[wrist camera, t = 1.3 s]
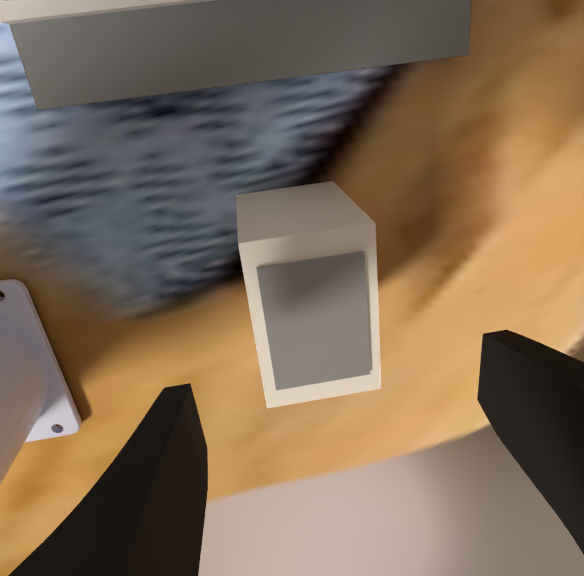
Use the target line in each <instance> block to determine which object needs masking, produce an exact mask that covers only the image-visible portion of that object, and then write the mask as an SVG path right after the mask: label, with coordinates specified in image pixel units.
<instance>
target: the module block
mask: <svg viewBox="0 0 584 576" xmlns="http://www.w3.org/2000/svg"><path fill="white" fill-rule="evenodd" d="M236 212H237V233H238V246H239V252H240V258H241V263H242V269H243V275H244V280H245V286H246V292H247V297H248V303H249V309H250V314H251V320H252V326H253V331H254V337H255V343H256V348H257V354H258V360H259V365H260V371H261V377H262V382H263V388H264V394H265V399H266V405H267V408H273V407H278V406H284V405H290V404H296V403H301V402H307V401H313V400H318V399H324V398H330V397H336V396H341V395H347V394H353V393H358V392H364V391H370V390H376V389H381V368H380V339H379V309H378V279H377V250H376V223H375V222H374V221H373V220H372V219H371V218H370V217H369V216H368V215H367V214H366V213H365V212H364V211H363V210H362V209H361V208H360V207H359V206H358V205H357V204H356V203H355V202H354V201H353V200H352V199H351V198H350V197H349V196H348V195H347V194H346V193H345V192H344V191H343V190H342V189H341V188H340V187H338V186H337V185H336V184H335V183H334V182H333V181H330V182H323V183H316V184H309V185H302V186H295V187H288V188H281V189H274V190H267V191H260V192H253V193H246V194H239V195H236Z"/></svg>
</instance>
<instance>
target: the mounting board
mask: <svg viewBox="0 0 584 576" xmlns="http://www.w3.org/2000/svg"><path fill="white" fill-rule="evenodd" d="M470 10H471V0H0V22H3V23H7V24H9V25H10V28H11V31H12V34H13V37H14V40H15V43H16V46H17V49H18V52H19V55H20V58H21V61H22V64H23V67H24V70H25V73H26V76H27V79H28V82H29V85H30V88H31V91H32V94H33V97H34V100H35V103H36V106H37V109H38V110H42V109H50V108H57V107H65V106H73V105H81V104H89V103H97V102H105V101H112V100H120V99H128V98H136V97H144V96H152V95H160V94H167V93H175V92H183V91H191V90H199V89H207V88H214V87H222V86H230V85H238V84H246V83H254V82H262V81H269V80H277V79H285V78H293V77H301V76H309V75H317V74H324V73H332V72H340V71H348V70H356V69H364V68H372V67H379V66H387V65H395V64H403V63H411V62H419V61H427V60H434V59H442V58H450V57H458V56H466V55H468V50H469V30H470Z"/></svg>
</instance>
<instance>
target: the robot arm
mask: <svg viewBox="0 0 584 576" xmlns="http://www.w3.org/2000/svg"><path fill="white" fill-rule="evenodd" d="M0 291H2V292H3V293H4V294H5V297H0V484H1V483H2V481H3V479H4V477H5V476H6V474H7V472H8V470H9V469H10V467H11V465H12V463H13V461H14V460H15V458H16V456H17V454H18V453H19V451H20V449H21V447H22V446H23V444H24V442H30V441H35V440H41V439H47V438H53V437H58V436H64V435H70V434H74V433H76V432H77V431H79V429H80V426H81V424H82V421H81V418H80V415H79V413H78V411H77V408H76V406H75V403H74V401H73V398H72V396H71V394H70V391H69V389H68V386H67V384H66V381H65V379H64V377H63V374H62V372H61V369H60V367H59V365H58V362H57V360H56V357H55V355H54V352H53V350H52V348H51V345H50V343H49V340H48V338H47V335H46V333H45V331H44V328H43V326H42V323H41V321H40V318H39V316H38V314H37V311H36V309H35V306H34V304H33V301H32V299H31V297H30V294H29V292H28V289H27V287H26V286H25V284H23V283H22V282H21V281H19V280H16V279H7V280H0ZM477 400H478V402H479V403H480V405H481V407H482V409H483V411H484V413H485V414H486V416H487V418H488V420H489V422H490V423H491V425H492V426H493V428H494V430H495V432H496V434H497V435H498V437H499V438H500V439H501V441H502V442H503V444H504V445H505V446H506V448H507V449H508V450H509V452H510V453H511V454H512V456H513V457H514V458H515V460H516V461H517V462H518V464H519V465H520V466H521V468H522V469H523V470H524V472H525V473H526V474H527V476H528V477H529V478H530V480H531V481H532V482H533V483H534V485H535V486H536V488H537V489H538V490H539V491H540V493H541V494H542V495H543V497H544V498H545V499H546V501H547V502H548V503H549V505H550V506H551V507H552V509H553V510H554V511H555V513H556V514H557V515H558V517H559V518H560V519H561V521H562V522H563V524H564V525H565V527H566V528H567V529H568V531H569V532H570V534H571V535H572V536H573V538H574V540H575V541H576V543H577V545H578V546H579V548H580V549H581V551H582V553H583V554H584V362H582V361H580V360H577V359H575V358H573V357H571V356H568V355H566V354H564V353H561V352H559V351H557V350H555V349H552V348H550V347H548V346H546V345H543V344H541V343H539V342H536V341H534V340H532V339H529V338H527V337H525V336H522V335H520V334H517V333H514V332H512V331H509V330H503V331H497V332H491V333H485V334H483V339H482V351H481V363H480V375H479V387H478V399H477ZM55 424H59V425H61V426H62V427H58V426H56V425H55ZM207 490H208V462H207V445H206V441H205V437H204V434H203V430H202V426H201V422H200V418H199V415H198V411H197V407H196V403H195V399H194V396H193V392H192V388H191V384H190V383H189V384H184V385H178V386H172V387H166V388H164V389H163V390H162V392H161V393H160V394H159V396H158V397H157V399H156V400H155V402H154V403H153V405H152V406H151V408H150V409H149V411H148V412H147V414H146V415H145V417H144V418H143V420H142V421H141V423H140V424H139V426H138V427H137V429H136V430H135V431H134V433H133V434H132V436H131V437H130V438H129V440H128V441H127V443H126V444H125V445H124V447H123V448H122V450H121V451H120V452H119V454H118V455H117V457H116V458H115V459H114V461H113V462H112V463H111V464H110V466H109V467H108V468H107V470H106V471H105V472H104V473H103V475H102V476H101V477H100V478H99V480H98V481H97V482H96V483H95V485H94V486H93V487H92V489H91V490H90V491H89V492H88V493H87V495H86V496H85V497H84V498H83V499H82V501H81V502H80V503H79V504H78V505H77V506H76V508H75V509H74V510H73V511H72V512H71V513H70V514H69V515H68V516H67V517H66V519H65V520H64V521H63V522H62V523H61V524H60V525H59V526H58V527H57V528H56V529H55V530H54V531H53V533H52V534H51V535H50V536H49V537H48V538H47V539H46V540H45V541H44V542H43V543H42V544H41V545H40V546H39V547H38V548H37V549H36V550H34V551H33V552H32V553H31V554H30V555H29V556H28V557H27V558H26V559H25V560H24V561H23V562H22V563H21V564H20V565H19V566H18V567H17V568H16V569H15V570H14V571H13V572H12V573H11V574H10V575H9V576H198V571H199V563H200V562H199V561H200V554H201V545H202V536H203V527H204V518H205V509H206V500H207Z"/></svg>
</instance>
